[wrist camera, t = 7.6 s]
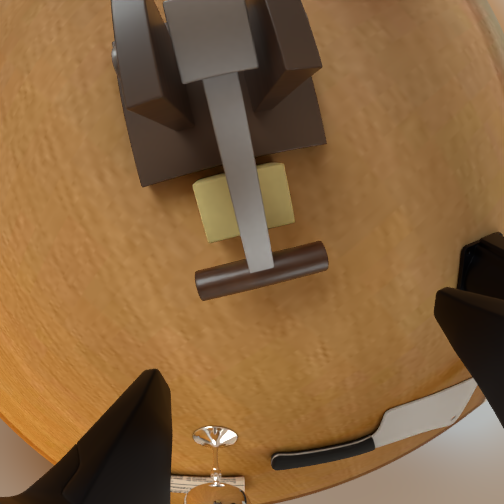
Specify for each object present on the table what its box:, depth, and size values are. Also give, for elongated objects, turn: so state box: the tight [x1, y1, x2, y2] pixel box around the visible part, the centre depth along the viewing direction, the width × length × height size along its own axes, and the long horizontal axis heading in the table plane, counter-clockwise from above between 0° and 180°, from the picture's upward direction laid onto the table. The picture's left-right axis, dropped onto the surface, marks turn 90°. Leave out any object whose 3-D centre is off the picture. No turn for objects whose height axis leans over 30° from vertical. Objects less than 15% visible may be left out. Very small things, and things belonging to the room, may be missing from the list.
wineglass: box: [183, 426, 251, 504], centre depth 17 cm, size 6×6×12 cm
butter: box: [193, 162, 295, 243], centre depth 14 cm, size 3×4×2 cm
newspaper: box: [170, 475, 245, 493], centre depth 26 cm, size 24×7×2 cm, turn 88°
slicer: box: [111, 0, 327, 187], centre depth 9 cm, size 9×10×9 cm
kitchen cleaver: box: [271, 377, 478, 470], centre depth 26 cm, size 31×2×10 cm
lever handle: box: [163, 0, 328, 301], centre depth 9 cm, size 12×6×2 cm, turn 13°
